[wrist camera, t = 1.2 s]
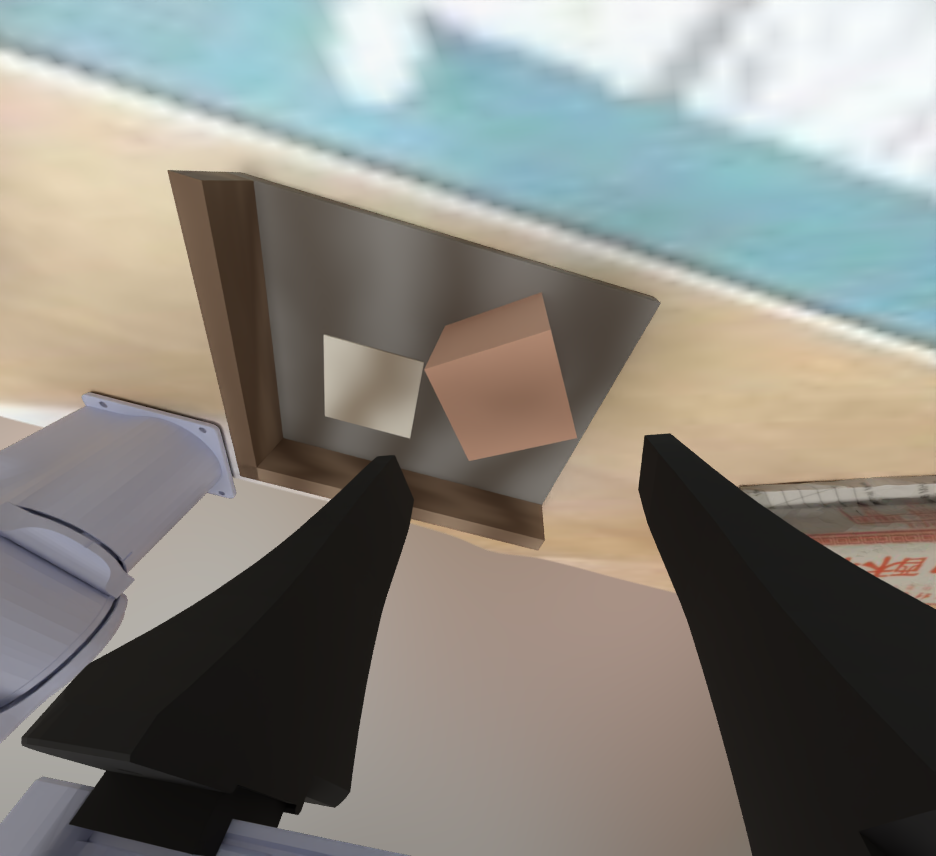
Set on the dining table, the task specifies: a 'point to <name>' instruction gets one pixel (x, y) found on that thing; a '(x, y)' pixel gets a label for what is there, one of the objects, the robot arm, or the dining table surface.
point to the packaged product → (867, 524)
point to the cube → (502, 380)
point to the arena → (379, 346)
